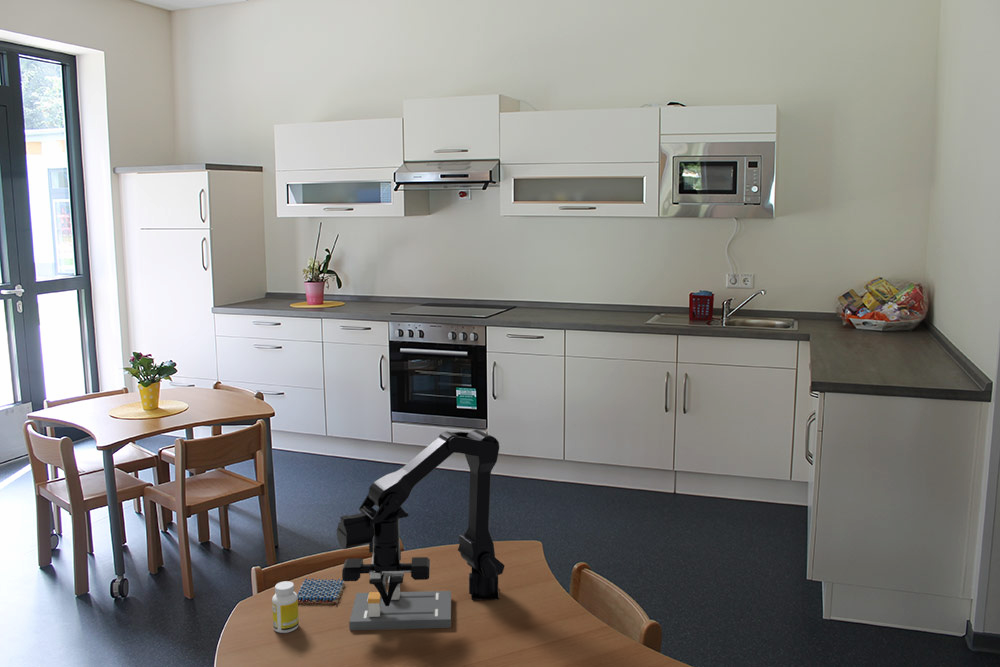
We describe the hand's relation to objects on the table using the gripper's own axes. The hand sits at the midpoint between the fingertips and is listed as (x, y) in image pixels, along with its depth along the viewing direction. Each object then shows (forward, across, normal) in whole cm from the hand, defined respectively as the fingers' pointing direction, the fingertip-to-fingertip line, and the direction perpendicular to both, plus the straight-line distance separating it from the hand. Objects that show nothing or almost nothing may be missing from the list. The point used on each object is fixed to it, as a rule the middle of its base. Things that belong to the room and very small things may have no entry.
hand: (387, 605), depth 178 cm
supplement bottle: (+4, +22, +1) cm, 22 cm away
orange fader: (+2, +3, 0) cm, 3 cm away
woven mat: (+5, +17, -14) cm, 23 cm away
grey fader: (+2, -1, -8) cm, 8 cm away
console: (+4, -3, -4) cm, 6 cm away
